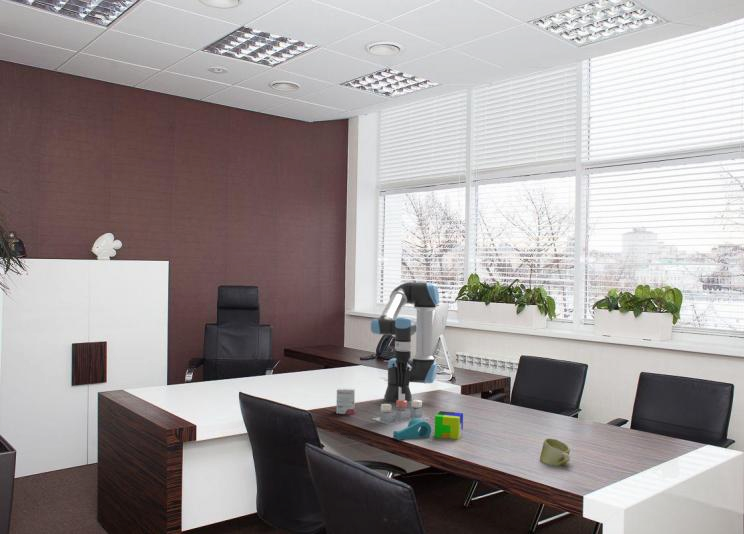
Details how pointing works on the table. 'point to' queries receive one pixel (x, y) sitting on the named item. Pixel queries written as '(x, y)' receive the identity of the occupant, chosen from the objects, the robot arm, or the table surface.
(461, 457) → the table surface
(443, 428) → the puzzle toy
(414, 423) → the tape dispenser
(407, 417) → the console
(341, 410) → the ink box
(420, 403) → the knob inner
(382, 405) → the knob outer
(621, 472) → the table surface
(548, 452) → the mug
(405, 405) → the knob mid
